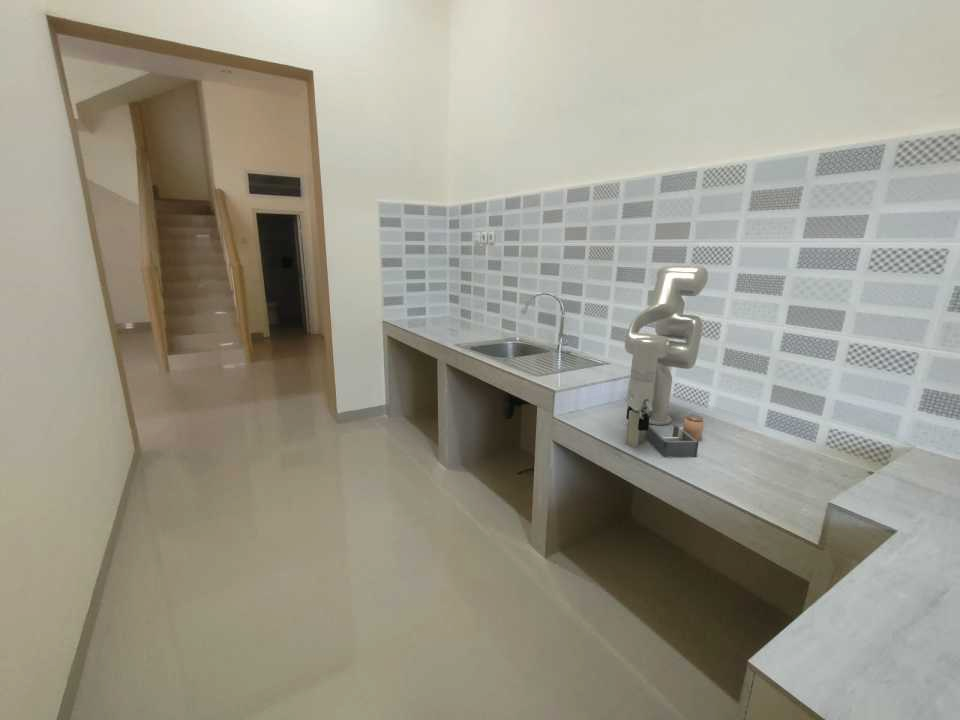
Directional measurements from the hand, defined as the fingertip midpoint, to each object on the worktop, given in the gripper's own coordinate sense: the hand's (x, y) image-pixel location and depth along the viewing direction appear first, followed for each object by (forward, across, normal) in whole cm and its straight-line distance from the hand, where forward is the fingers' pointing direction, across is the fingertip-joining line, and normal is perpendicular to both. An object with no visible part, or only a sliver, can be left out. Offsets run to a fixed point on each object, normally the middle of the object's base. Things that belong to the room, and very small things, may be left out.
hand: (636, 424), depth 140 cm
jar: (+7, -5, +23) cm, 24 cm away
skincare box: (+7, -1, +1) cm, 7 cm away
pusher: (+7, +2, +11) cm, 13 cm away
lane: (+7, +2, +11) cm, 13 cm away
